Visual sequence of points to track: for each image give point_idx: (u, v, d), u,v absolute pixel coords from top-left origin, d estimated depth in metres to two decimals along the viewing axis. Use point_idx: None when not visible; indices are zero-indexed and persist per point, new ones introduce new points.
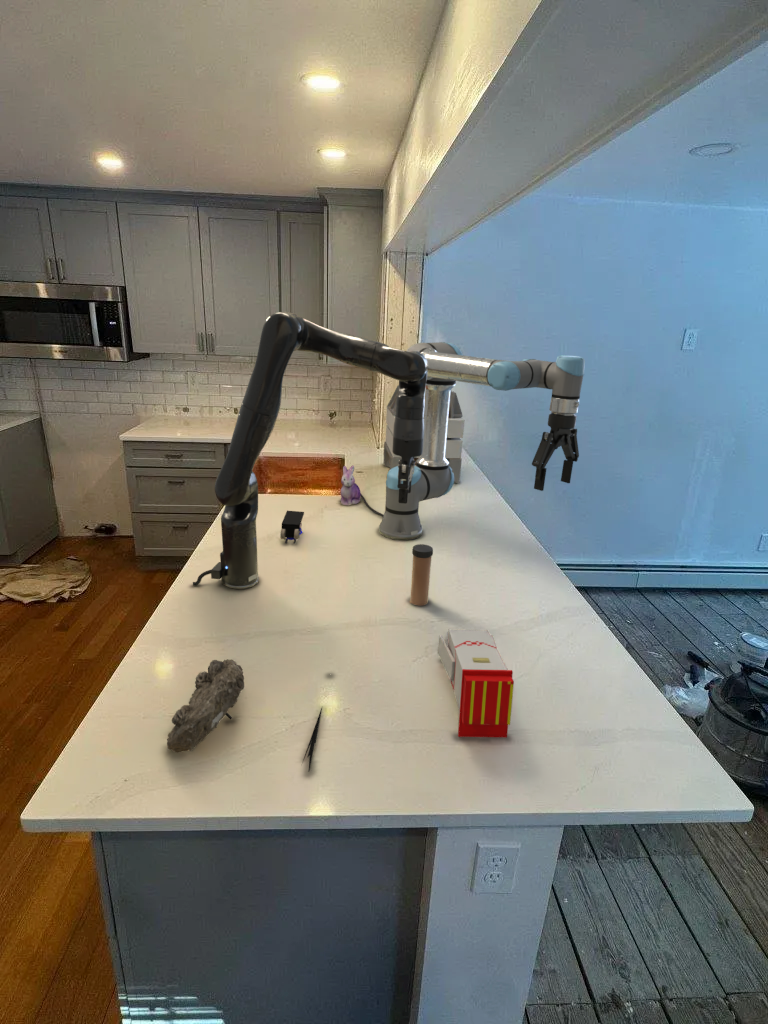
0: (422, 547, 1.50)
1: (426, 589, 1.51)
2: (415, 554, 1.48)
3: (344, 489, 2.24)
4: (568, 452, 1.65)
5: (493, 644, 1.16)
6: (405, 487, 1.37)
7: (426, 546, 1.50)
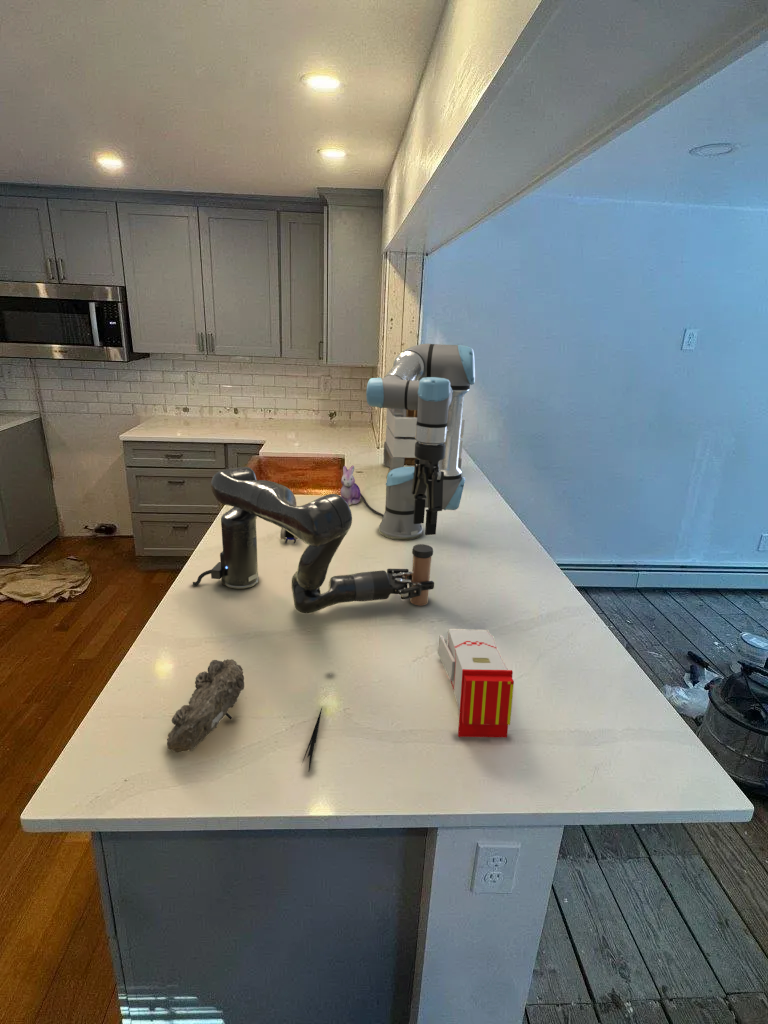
0: (422, 547, 1.50)
1: None
2: (415, 554, 1.48)
3: (344, 489, 2.24)
4: (424, 487, 1.47)
5: (493, 644, 1.16)
6: None
7: (426, 546, 1.50)
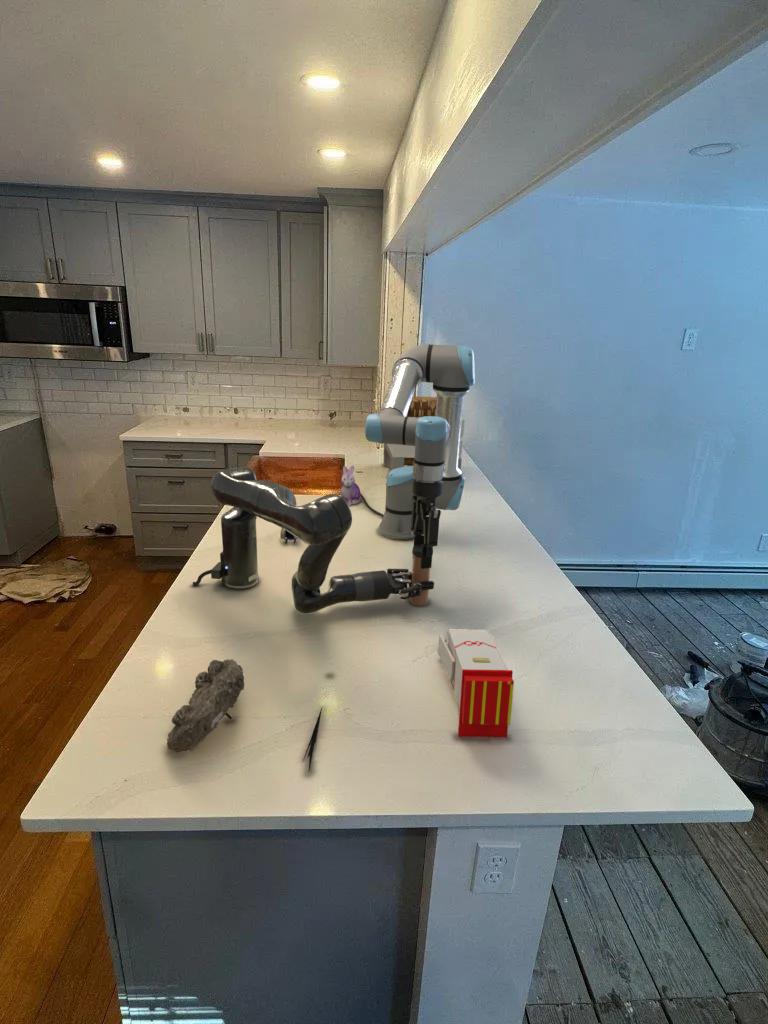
0: None
1: None
2: (415, 554, 1.48)
3: (344, 489, 2.24)
4: (422, 523, 1.49)
5: (493, 644, 1.16)
6: None
7: None
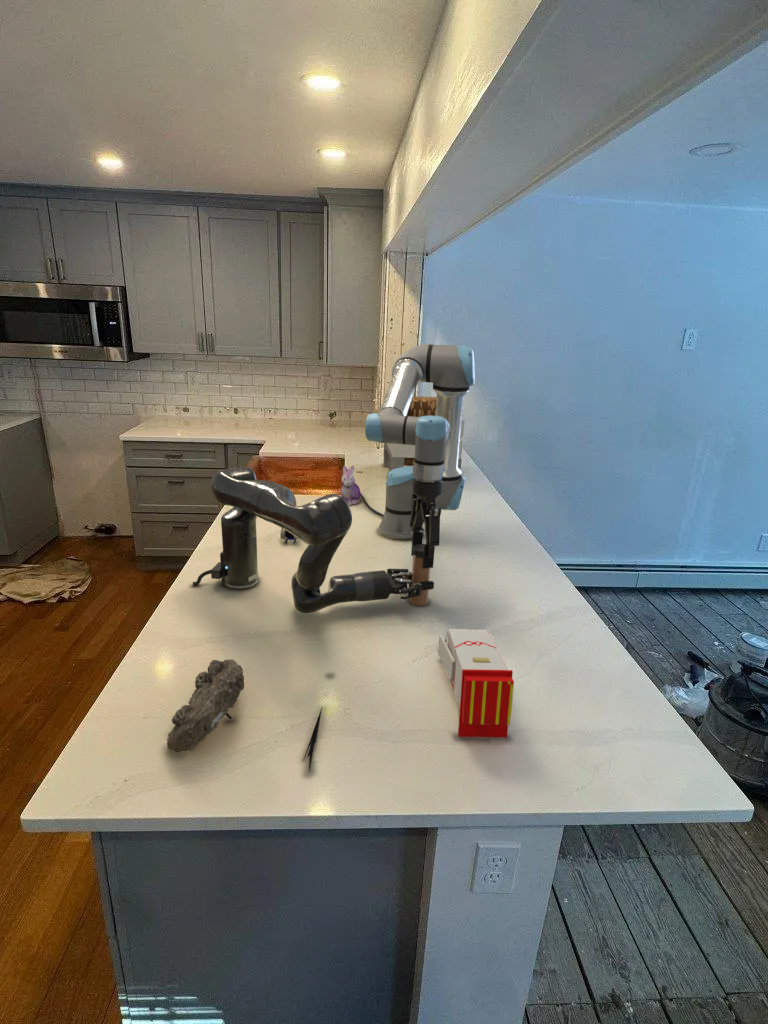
0: (421, 547, 1.49)
1: None
2: None
3: (344, 489, 2.24)
4: (421, 521, 1.50)
5: (493, 644, 1.16)
6: None
7: (418, 545, 1.50)
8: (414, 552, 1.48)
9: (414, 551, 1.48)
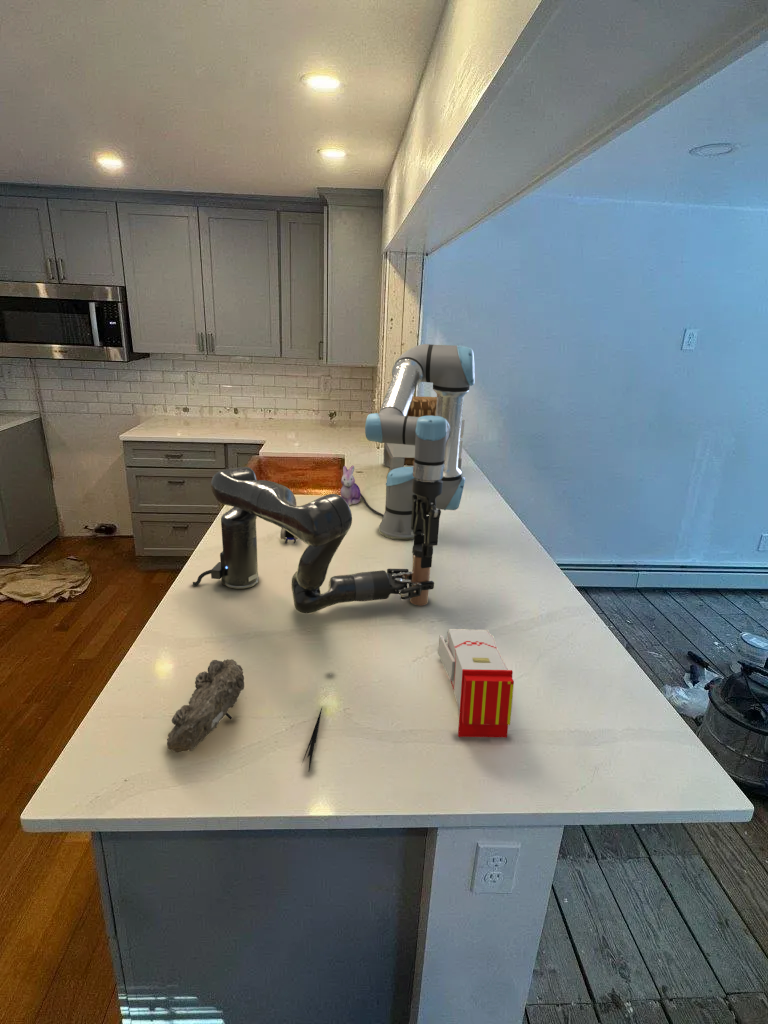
0: (421, 547, 1.49)
1: None
2: None
3: (344, 489, 2.24)
4: (423, 522, 1.49)
5: (493, 644, 1.16)
6: None
7: (418, 545, 1.50)
8: (414, 552, 1.48)
9: (414, 551, 1.48)
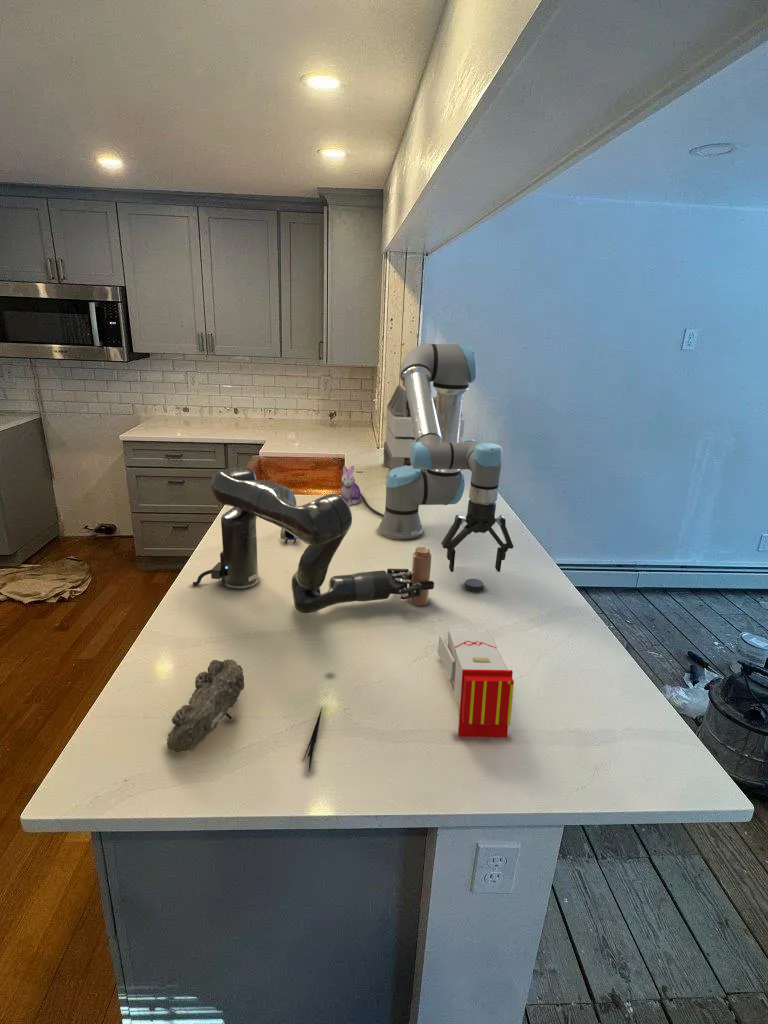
0: (474, 583, 1.62)
1: None
2: None
3: (344, 489, 2.24)
4: None
5: (493, 644, 1.16)
6: None
7: (469, 583, 1.62)
8: (478, 589, 1.61)
9: (478, 588, 1.61)
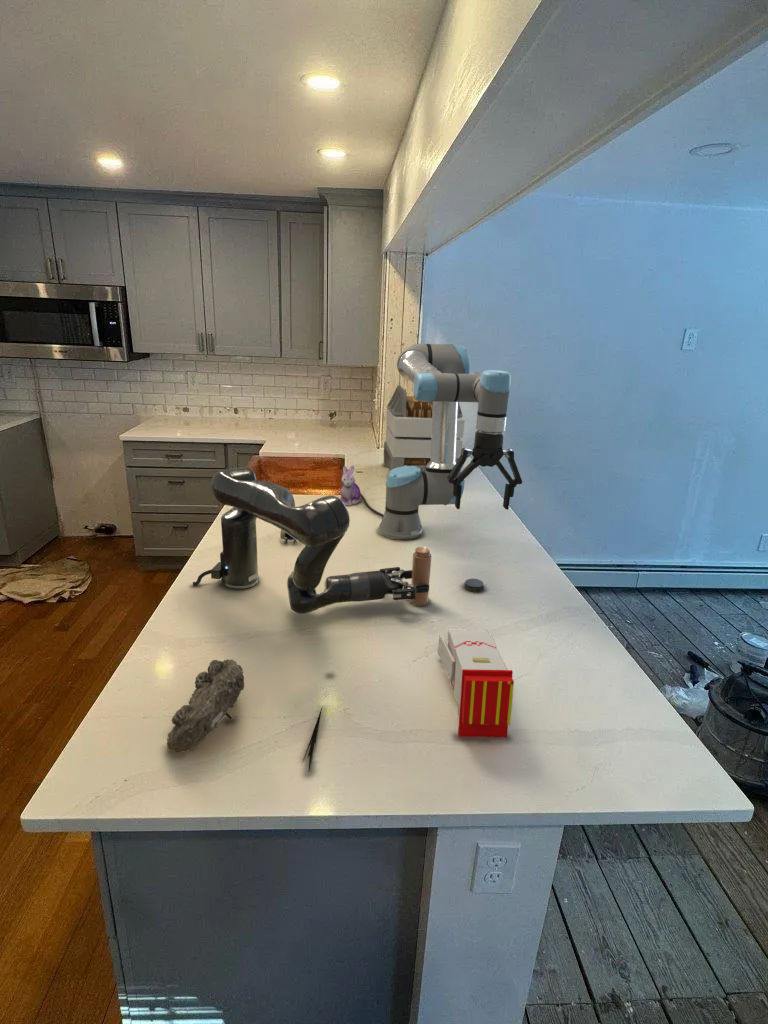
0: (474, 583, 1.62)
1: None
2: None
3: (344, 489, 2.24)
4: None
5: (493, 644, 1.16)
6: None
7: (469, 583, 1.62)
8: (478, 589, 1.61)
9: (478, 588, 1.61)
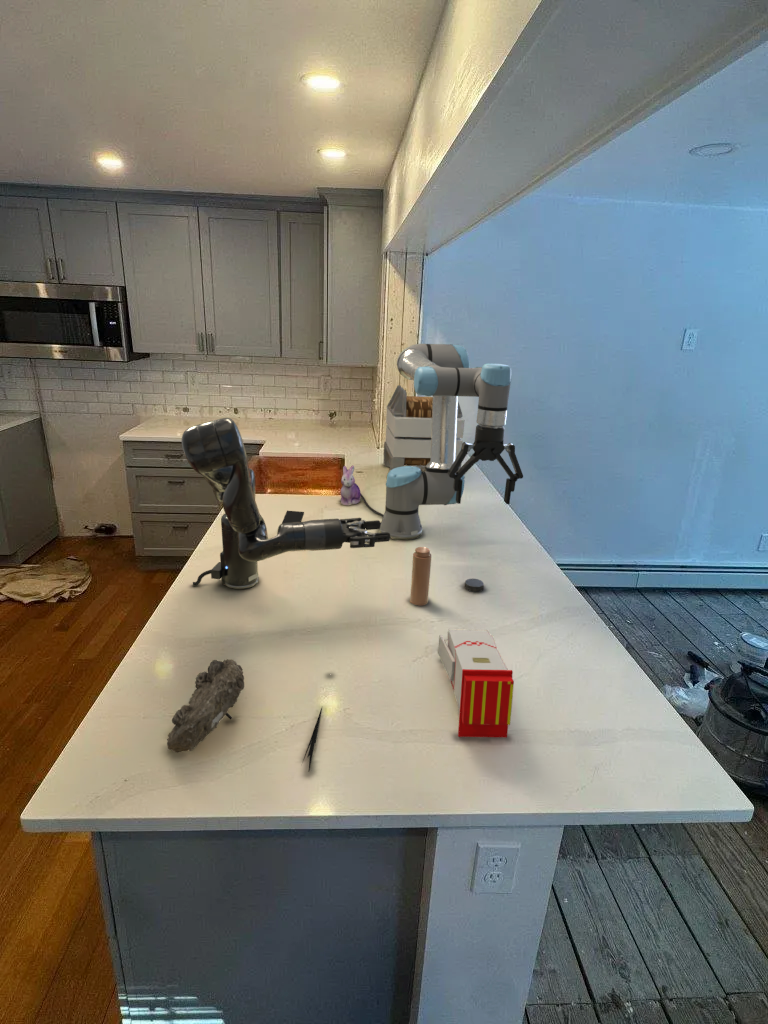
0: (474, 583, 1.62)
1: (426, 589, 1.51)
2: None
3: (344, 489, 2.24)
4: None
5: (493, 644, 1.16)
6: None
7: (469, 583, 1.62)
8: (478, 589, 1.61)
9: (478, 588, 1.61)
